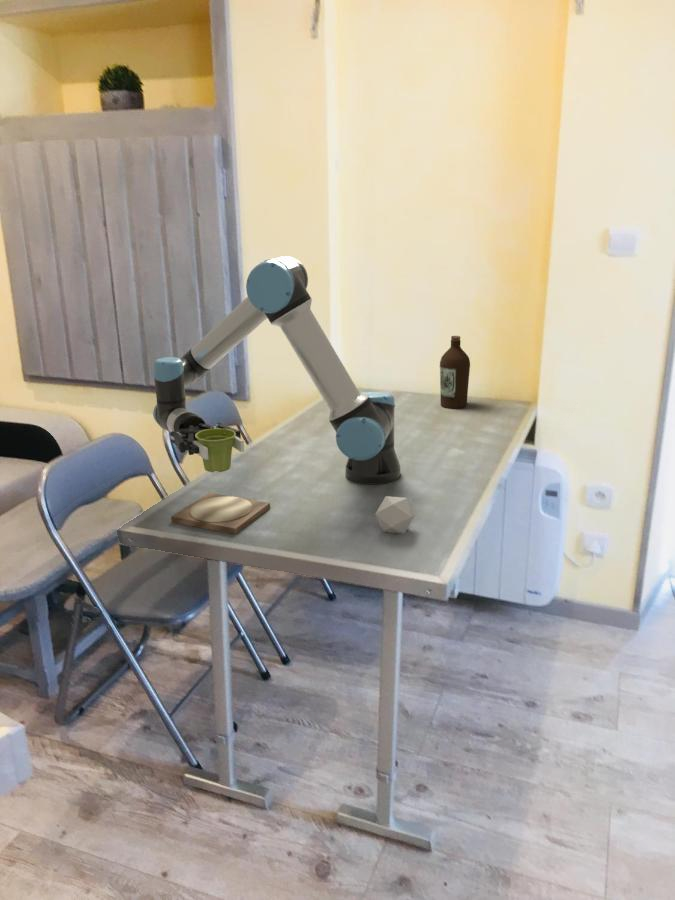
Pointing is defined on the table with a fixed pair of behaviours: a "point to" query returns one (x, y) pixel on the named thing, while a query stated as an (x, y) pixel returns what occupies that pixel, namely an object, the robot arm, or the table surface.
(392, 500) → the die
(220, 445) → the plant pot
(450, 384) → the olive oil
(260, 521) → the table surface
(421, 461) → the table surface
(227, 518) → the walnut board
